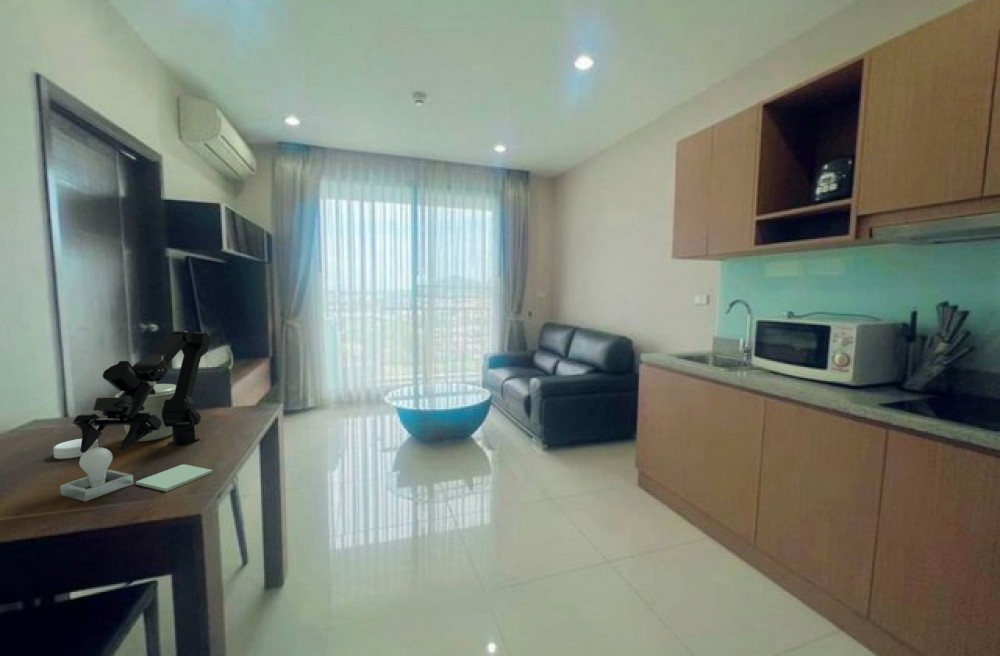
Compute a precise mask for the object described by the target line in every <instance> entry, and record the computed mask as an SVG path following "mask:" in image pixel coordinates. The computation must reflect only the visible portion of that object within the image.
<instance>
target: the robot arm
mask: <svg viewBox="0 0 1000 656" xmlns="http://www.w3.org/2000/svg"><path fill="white" fill-rule="evenodd" d="M211 344H212V337H211V336H210V335H209V334H208V332H192V331H188V330H174V331H172V332H170V334H169V337H168V338H166V339H165V341H164V342H163V343H162V344H161V345H160V346H159V347H158V348H157V349H156V350H155V351H154V352H153V353H152V354H151V355H150V356H148V357H145V358H142V359H140V360H139V361H137V362H136V363H135V364H134V365H131V363H130V362H129V360H120V361H118V362H117V363H116V364H114V365H112V366H109V367H108V368H107V369H105V370H104V371H103V372H102V378H103V379H104V380H106V382H107V383H109V385H111V386H112V387H113V388H114V389H115V390H116V391H119V392H121V391H123V393H122V394H121V396H120V397H119V398H116V397H96V399H95V402H94V405H93V409H92V410H93V411H95V412H96V411H99V412H101V414H102V415H103V416H105V417H107V418H101V417H100V416H99V415H97V414H96V413H82V414H78V415H76V417H75V418H74V419H73V421H72V424H74V425H75V426H76V427H77V428H78V429H80V430H81V435H82V438H81V439H82V443H81V450H80V451H81V452H82V453H85V452H86V451H87V450H88V449H89V448H90V447H91V446H92V444H93V443H94V442H95V441H96V440H99V437H100V436H101V435H102V434H103V433H102V431H103V430H105V427H106V426H107V427H108V426H111V427H112V426H113V427H114V426H124V425H130V430H129V432H128V434H127V435H125V437H124V439H123V441H122V443H121V445H120V447H119V451H120V452H125V451H126V450H127V449H129V448H130V447H131V446H132V445H134V444H135V443H137V442H139V441H138V440H139V439H141V438H142V437H144V436H145V435H147V434H148V433H152V432H153V430H159V428H160V426H161V420H160V419H159V418H158V417H157V416H155V415H154V414H153V413H152V412H151V413H139V411H144V409H145V407H143V404H144V402H145V400H146V399H147V397H148V395H149V394H155V393H156V392H155V390H154V388H153V385H150V384H149V383H147V382H156V383H159V382H161V381H162V380H163V379H164V378H165V377H166V374H167V373H168V371H169V368H168V366H169V364H170V362H171V361H172V360H173V359H174V358H175V357H176V355H178V353H180V351H181V352H182V353H183V358H182V362H181V365H180V370H179V373H178V377H177V381H176V384H175V385H176V389H175V393H174V396H173V397H172V398H171V399H166V400H165V402H164V407H163V410H162V419H163V422H164V425H165V427H171V426H172V434H171V435H172V440H171V441H168V442H167V444H168V445H173V446H178V447H181V446H185V445H188V444H191V443H194V442H198V441H200V438H199V437H196V428H195V426H196V425H199V424H200V423H201V420H202V419H201V418H202V416H201V415H200V414H199V412H198V411H196V404H195V401H194V399H193V393H194V388H195V383H196V379H197V375H198V371H199V368H200V367H199V366H200V363H201V359H202V357H203V356H204V355H205V354H207V352H208V351H209V349H210V345H211Z"/></svg>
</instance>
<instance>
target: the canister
mask: <svg viewBox="0 0 1000 656" xmlns="http://www.w3.org/2000/svg"><path fill="white" fill-rule="evenodd" d="M147 383H149V384H150V385H153V388H154V390H155V392H156V393H155V394H149V395H148V397H147V399H146V400H145V402H144V404H143V407H145V409H144V411H139V413H151V412H152V413H153V414H154V415H155V416H157V417H158V418H159V419H160V420H161V426H160V428H159V430H153V432H152V433H148V434H147V435H145V436H144V437H142V438H141V439H139V440H138V441H137V442H149V441H156V440H159V439H160V440H161V439H163V438H164V439H165V438H167V437H169V436H171V435H172V426H171V427H165V425H164V422H163V419H162V410H163V407H164V402H165V400H166V399H171V398H172V397H173V396H174V393H175V389H176V385H177V384H173V383H157V382H147ZM122 393H123V391H119V393H116V394H115V395H114V398H119V397H120V396H121V394H122ZM123 426H124V427H123V428H124V430H125V434H126V435H127V434H128V432H129V430H130V425H123ZM126 435H125V436H126Z"/></svg>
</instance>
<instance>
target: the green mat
mask: <svg viewBox="0 0 1000 656" xmlns="http://www.w3.org/2000/svg"><path fill="white" fill-rule="evenodd" d="M213 471H214V470H213V469H210V468H209V469H208V468H204V467H199V466H194V465H190V464H180V465H178V466H175V467H172V468H169V469H167V470H163V471H161V472H158V473H155V474H152V475H149V476H147V477H144V478H142V479H140V480H137V481H135V485H136V486H137V485H138V486H142V487H145V488H149V489H153V490H158V491H161V492H166V493H167V492H168V491H169V492H170V491H171V490H173V489H176V488H179V487H181V486H184V485H185V484H189V483H191V482H193V481H196V480H198V479H201V478H203V477H205V476H208V475H211V474H213Z"/></svg>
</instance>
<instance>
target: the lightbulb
mask: <svg viewBox="0 0 1000 656" xmlns="http://www.w3.org/2000/svg"><path fill="white" fill-rule="evenodd" d="M113 459H114V458H113V453H112V452H111V451H110V449H107V448H106V447H101V446H98V448H93V449H90V450H88V451H86V452H85V453H84V454H83V455H82V456H80V458H79V462H78V464H79V467H80V468H81V469H82V470H83V471H84V472H85V474H86V475H87V477H89V481H90V482H91V486H90V488H92V487H95V486H98V485H101V484H104V483H106V481H105V478H106V471H107V470H109V467H110V465H111V463H112V461H113Z"/></svg>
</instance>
